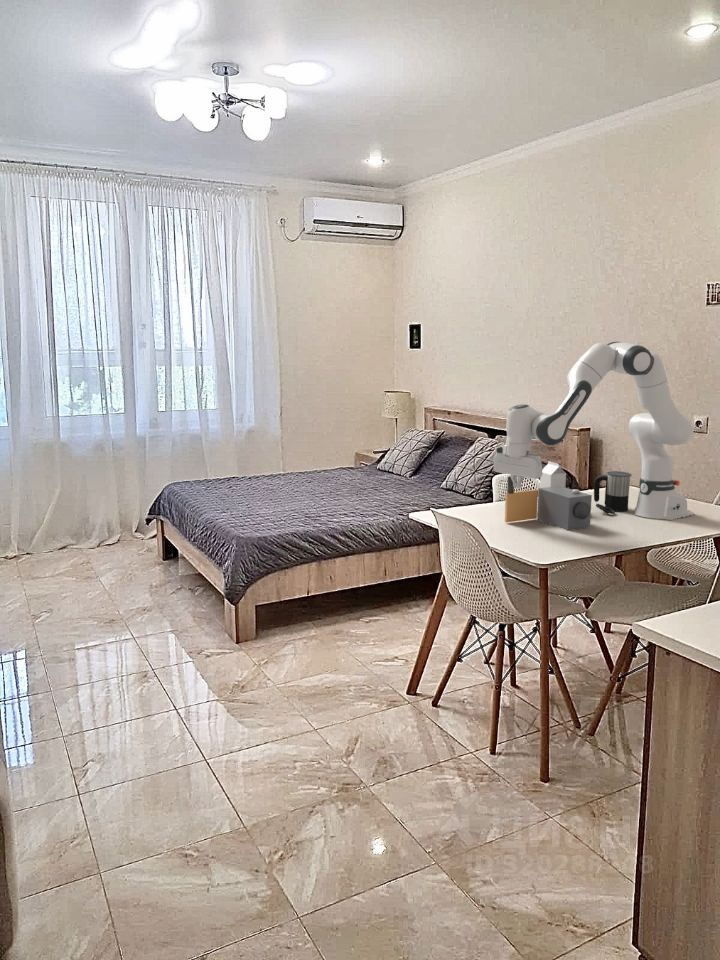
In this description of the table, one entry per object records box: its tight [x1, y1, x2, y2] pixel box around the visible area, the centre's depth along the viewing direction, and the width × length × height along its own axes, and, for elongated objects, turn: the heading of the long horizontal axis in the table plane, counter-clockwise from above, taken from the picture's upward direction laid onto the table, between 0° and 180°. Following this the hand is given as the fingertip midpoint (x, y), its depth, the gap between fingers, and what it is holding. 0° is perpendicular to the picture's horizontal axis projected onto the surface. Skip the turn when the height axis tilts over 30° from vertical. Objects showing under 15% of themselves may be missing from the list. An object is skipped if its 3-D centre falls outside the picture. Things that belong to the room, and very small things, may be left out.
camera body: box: [536, 486, 593, 531], centre depth 281 cm, size 10×20×13 cm, turn 23°
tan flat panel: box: [504, 475, 538, 523], centre depth 284 cm, size 2×14×17 cm, turn 116°
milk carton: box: [539, 460, 567, 488], centre depth 303 cm, size 7×7×19 cm
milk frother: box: [593, 470, 632, 515], centre depth 300 cm, size 14×16×15 cm
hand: (517, 487), depth 278 cm, fingers closed
